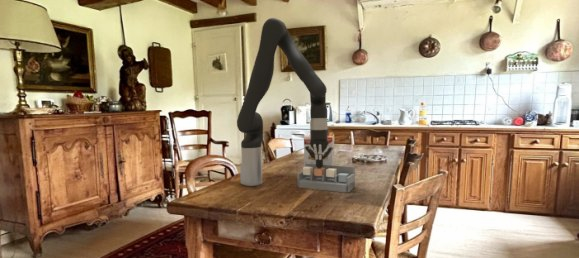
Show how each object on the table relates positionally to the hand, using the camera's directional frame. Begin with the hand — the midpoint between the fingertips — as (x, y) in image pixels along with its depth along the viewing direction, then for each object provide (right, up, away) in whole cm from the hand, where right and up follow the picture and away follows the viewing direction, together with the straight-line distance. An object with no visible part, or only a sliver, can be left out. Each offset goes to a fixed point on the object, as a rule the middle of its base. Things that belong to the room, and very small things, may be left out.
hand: (319, 167), depth 144 cm
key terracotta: (0, -3, 0) cm, 3 cm away
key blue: (+10, -5, -4) cm, 12 cm away
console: (+3, -9, 0) cm, 9 cm away
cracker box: (+1, -7, +16) cm, 18 cm away
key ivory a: (-5, -3, +3) cm, 7 cm away
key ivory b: (+5, -3, -2) cm, 6 cm away
